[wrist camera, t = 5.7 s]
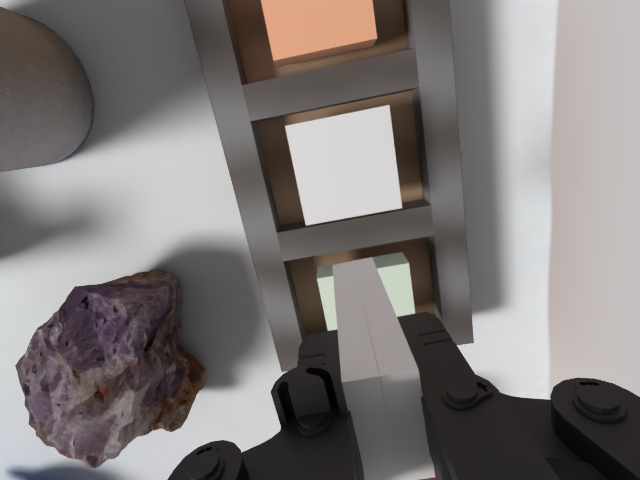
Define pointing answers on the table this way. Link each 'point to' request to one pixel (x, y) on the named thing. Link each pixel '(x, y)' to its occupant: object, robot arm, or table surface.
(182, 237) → the table surface
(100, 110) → the table surface
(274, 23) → the orange square block
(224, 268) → the table surface
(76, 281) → the table surface
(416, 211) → the keypad
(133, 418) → the rock
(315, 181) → the white key
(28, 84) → the pillar candle
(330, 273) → the sage key
